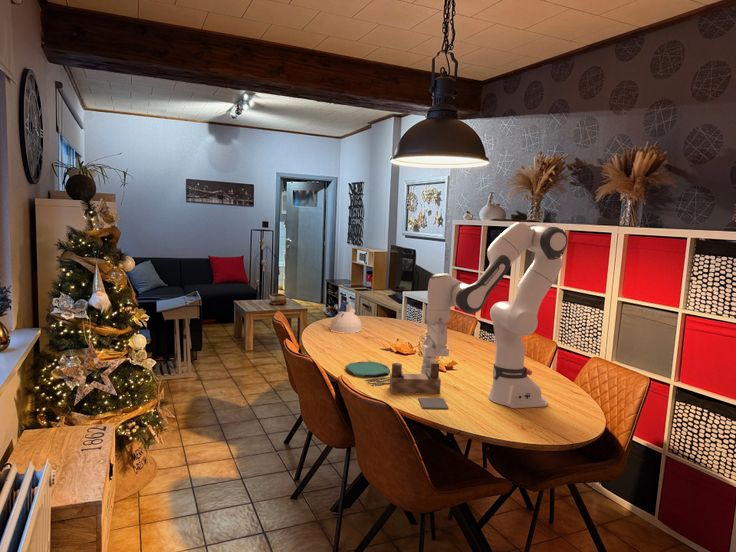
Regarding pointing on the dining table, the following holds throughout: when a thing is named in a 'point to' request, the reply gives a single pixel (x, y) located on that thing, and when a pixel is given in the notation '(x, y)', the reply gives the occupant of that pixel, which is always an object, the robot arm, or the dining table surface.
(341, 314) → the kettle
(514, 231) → the robot arm
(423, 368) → the plastic bottle
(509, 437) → the dining table surface
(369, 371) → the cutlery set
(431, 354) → the lever cap
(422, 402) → the rubber mat
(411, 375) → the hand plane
